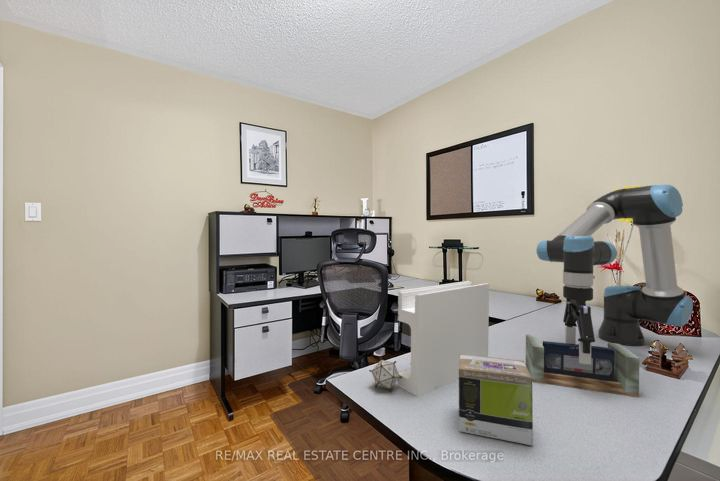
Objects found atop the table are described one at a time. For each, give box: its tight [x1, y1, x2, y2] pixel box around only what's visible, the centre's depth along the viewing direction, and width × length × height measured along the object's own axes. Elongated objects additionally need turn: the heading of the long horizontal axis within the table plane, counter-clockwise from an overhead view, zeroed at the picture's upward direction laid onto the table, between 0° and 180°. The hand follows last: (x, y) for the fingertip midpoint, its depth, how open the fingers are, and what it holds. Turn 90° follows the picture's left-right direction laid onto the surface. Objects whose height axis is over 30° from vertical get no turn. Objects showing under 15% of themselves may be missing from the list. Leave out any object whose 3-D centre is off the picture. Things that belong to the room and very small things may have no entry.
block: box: [397, 280, 490, 398], centre depth 98 cm, size 35×8×28 cm, turn 127°
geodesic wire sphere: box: [368, 357, 402, 393], centre depth 89 cm, size 9×8×10 cm
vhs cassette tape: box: [542, 340, 615, 382], centre depth 95 cm, size 18×3×10 cm, turn 69°
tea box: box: [458, 354, 534, 446], centre depth 71 cm, size 15×10×15 cm, turn 71°
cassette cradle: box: [525, 333, 641, 398], centre depth 95 cm, size 26×12×11 cm, turn 70°
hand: (577, 354), depth 95 cm, fingers open, 13 cm apart
